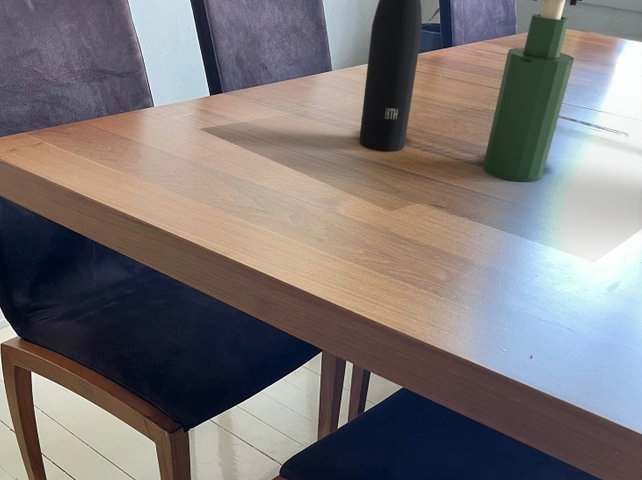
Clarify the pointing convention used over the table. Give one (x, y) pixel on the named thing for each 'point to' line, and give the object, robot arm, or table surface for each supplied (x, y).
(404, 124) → the black tall cylinder
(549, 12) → the stopper
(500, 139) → the green bottle
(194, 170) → the table surface
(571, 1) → the robot arm
